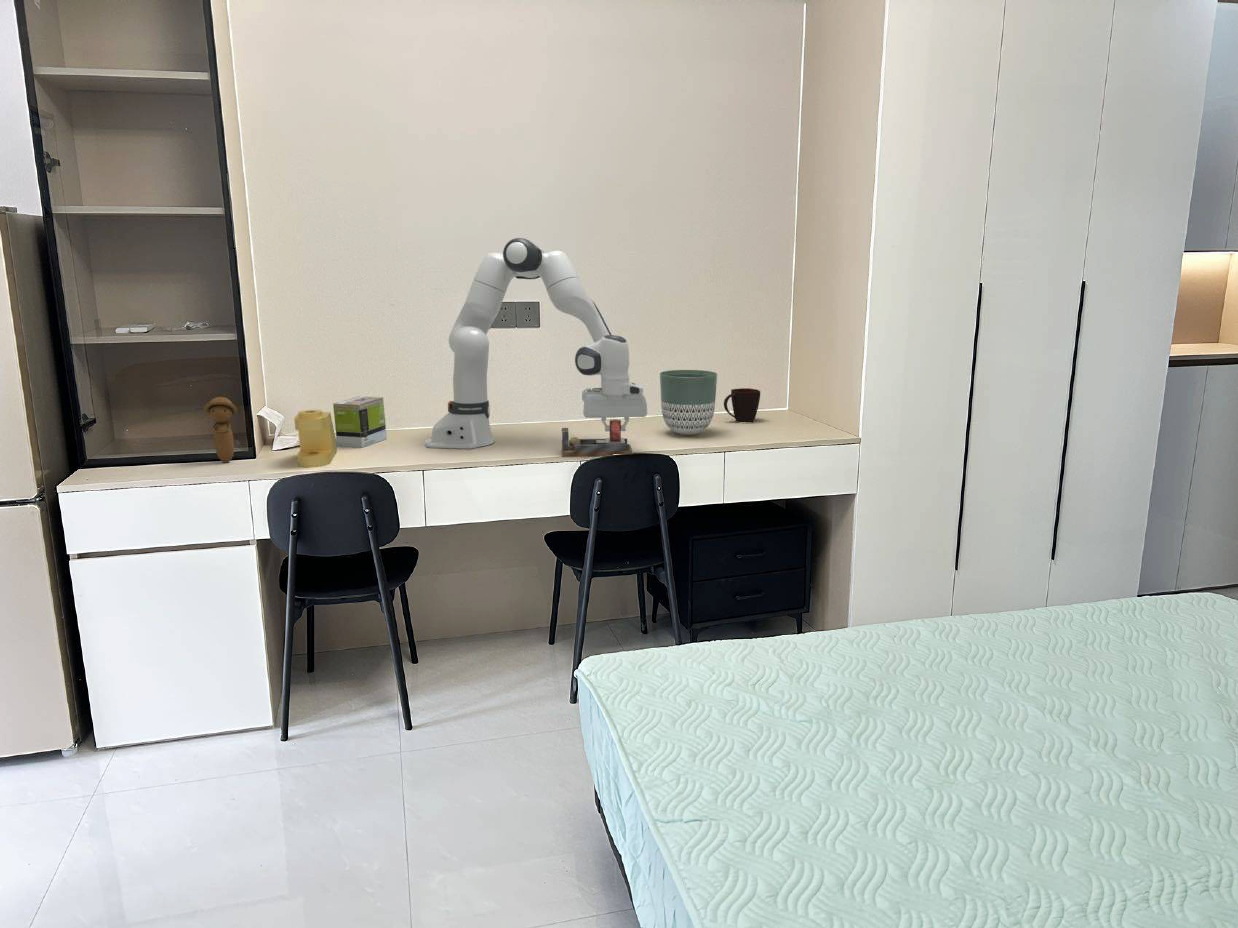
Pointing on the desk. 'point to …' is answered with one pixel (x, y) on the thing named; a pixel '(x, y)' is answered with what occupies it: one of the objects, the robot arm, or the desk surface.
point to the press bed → (592, 447)
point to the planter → (688, 400)
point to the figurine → (222, 426)
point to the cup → (743, 404)
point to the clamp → (315, 438)
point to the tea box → (359, 421)
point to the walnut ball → (574, 441)
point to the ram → (613, 434)
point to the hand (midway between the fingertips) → (615, 431)
